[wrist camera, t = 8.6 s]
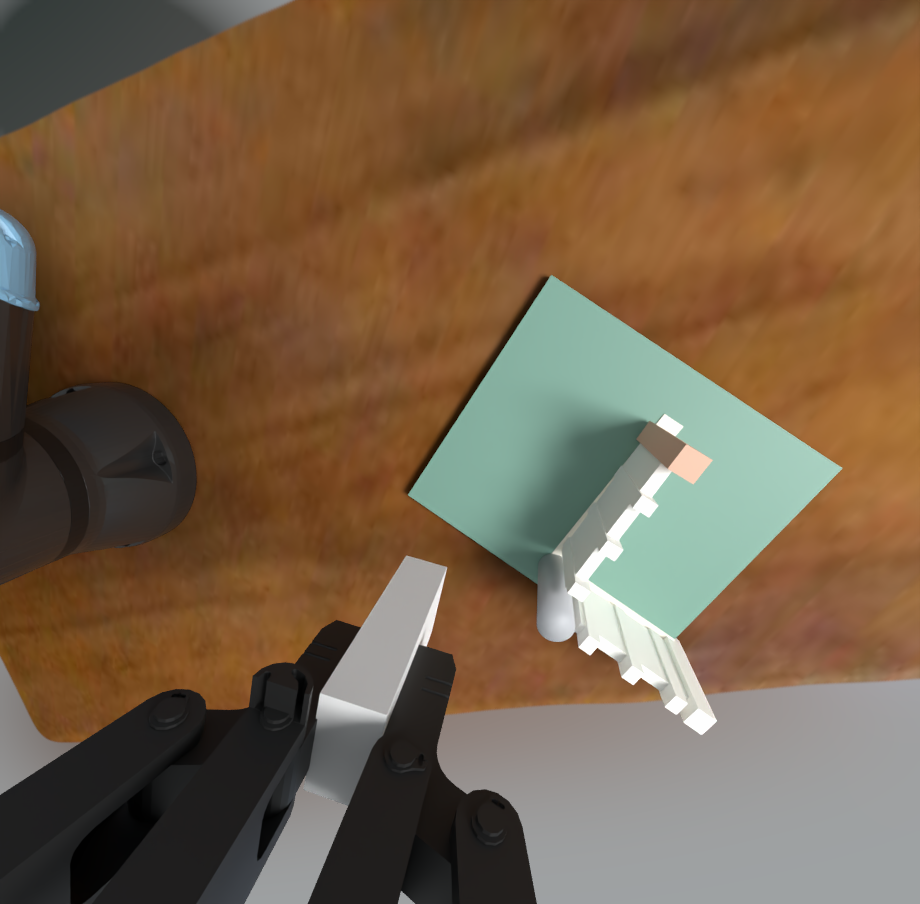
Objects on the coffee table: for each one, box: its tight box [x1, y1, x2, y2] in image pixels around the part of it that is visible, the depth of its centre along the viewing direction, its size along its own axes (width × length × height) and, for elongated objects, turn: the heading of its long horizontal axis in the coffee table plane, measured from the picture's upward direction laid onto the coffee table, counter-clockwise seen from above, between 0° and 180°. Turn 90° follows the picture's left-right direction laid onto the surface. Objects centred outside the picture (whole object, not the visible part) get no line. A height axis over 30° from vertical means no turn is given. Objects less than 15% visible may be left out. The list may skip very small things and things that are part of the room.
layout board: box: [408, 275, 842, 640], centre depth 34 cm, size 24×20×1 cm
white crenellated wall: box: [562, 421, 713, 602], centre depth 29 cm, size 12×2×8 cm, turn 149°
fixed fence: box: [537, 554, 717, 735], centre depth 32 cm, size 13×2×8 cm, turn 57°
